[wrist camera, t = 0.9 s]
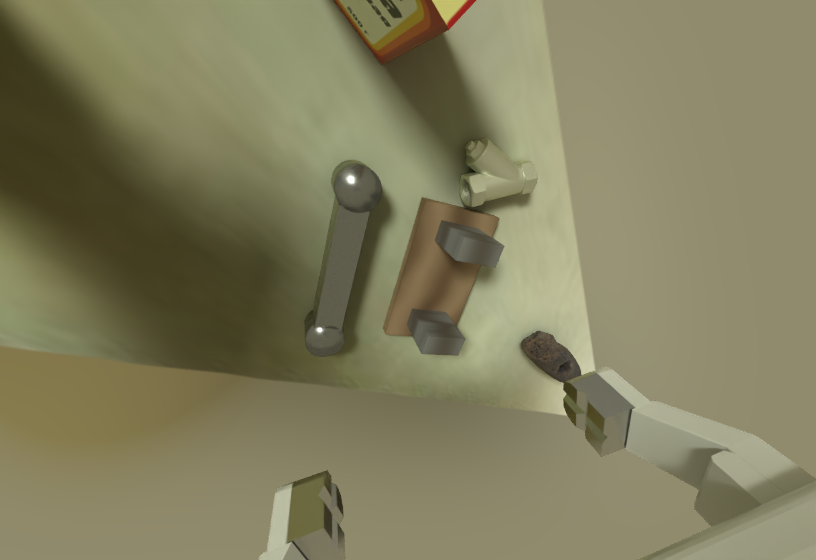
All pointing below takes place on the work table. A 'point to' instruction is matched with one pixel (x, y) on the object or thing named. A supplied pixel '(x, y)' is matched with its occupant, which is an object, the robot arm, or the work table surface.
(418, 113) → the work table surface
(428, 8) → the baking soda box
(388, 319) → the peg stand
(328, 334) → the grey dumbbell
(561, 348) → the perforated stone tool
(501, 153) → the pipe fitting
